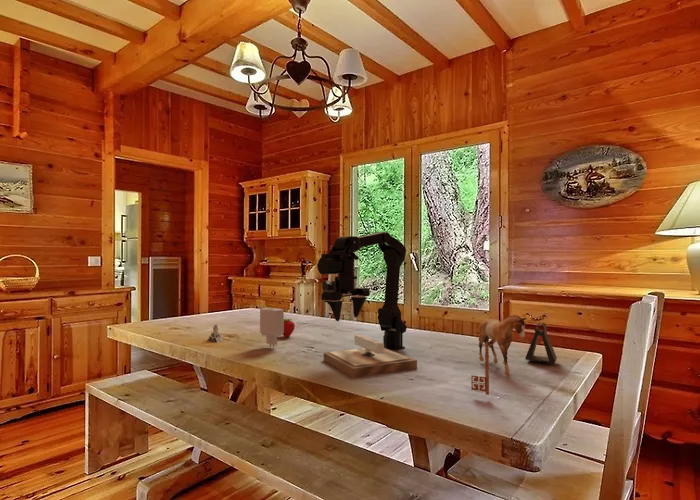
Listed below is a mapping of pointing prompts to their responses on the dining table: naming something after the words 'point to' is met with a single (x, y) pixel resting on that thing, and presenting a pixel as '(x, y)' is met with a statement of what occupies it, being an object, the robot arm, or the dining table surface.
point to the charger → (271, 324)
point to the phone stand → (547, 344)
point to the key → (477, 386)
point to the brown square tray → (369, 362)
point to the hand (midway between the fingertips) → (346, 319)
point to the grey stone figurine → (216, 335)
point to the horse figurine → (501, 335)
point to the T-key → (369, 344)
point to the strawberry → (288, 327)
